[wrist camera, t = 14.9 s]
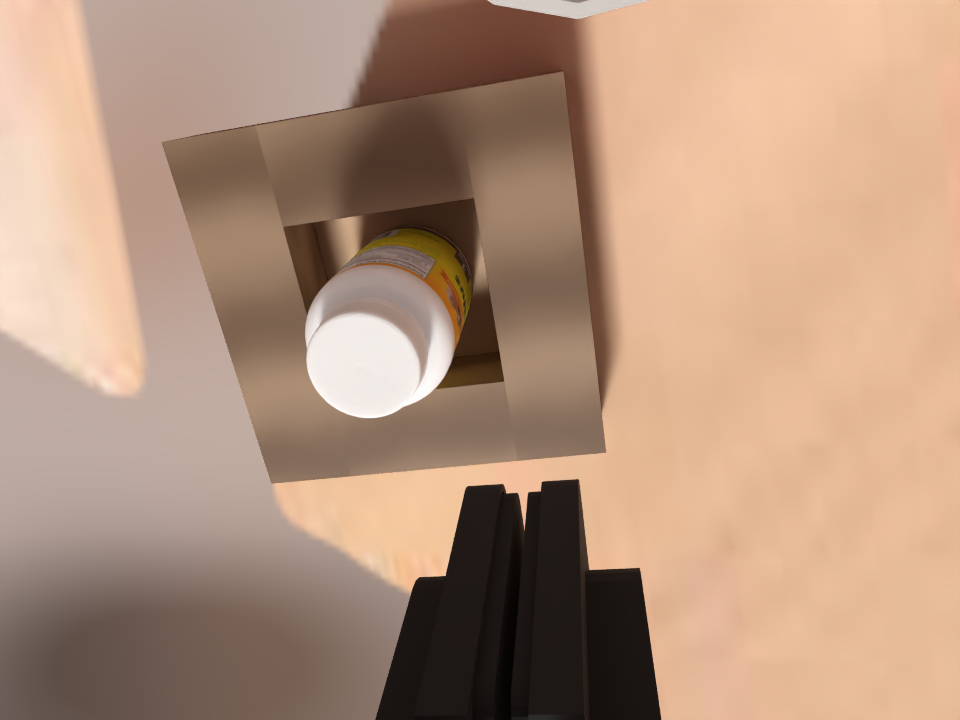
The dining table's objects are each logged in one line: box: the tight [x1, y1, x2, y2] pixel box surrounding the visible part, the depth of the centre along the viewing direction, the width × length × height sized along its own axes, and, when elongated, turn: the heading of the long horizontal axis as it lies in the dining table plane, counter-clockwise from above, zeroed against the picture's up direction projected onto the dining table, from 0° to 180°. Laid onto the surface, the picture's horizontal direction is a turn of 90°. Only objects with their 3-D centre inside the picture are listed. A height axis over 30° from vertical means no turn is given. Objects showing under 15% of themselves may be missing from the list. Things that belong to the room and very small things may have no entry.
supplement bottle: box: [305, 226, 473, 418], centre depth 28 cm, size 6×6×10 cm
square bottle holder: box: [162, 71, 606, 483], centre depth 31 cm, size 16×16×4 cm
